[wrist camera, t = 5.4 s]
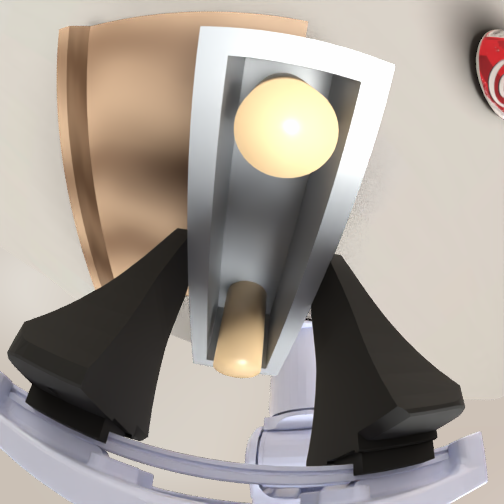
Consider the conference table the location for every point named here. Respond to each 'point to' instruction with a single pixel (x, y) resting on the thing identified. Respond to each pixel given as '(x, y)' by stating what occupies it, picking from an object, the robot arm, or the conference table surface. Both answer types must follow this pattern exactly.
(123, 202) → the brown piece
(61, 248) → the conference table surface
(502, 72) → the soda can
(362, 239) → the conference table surface
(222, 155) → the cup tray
